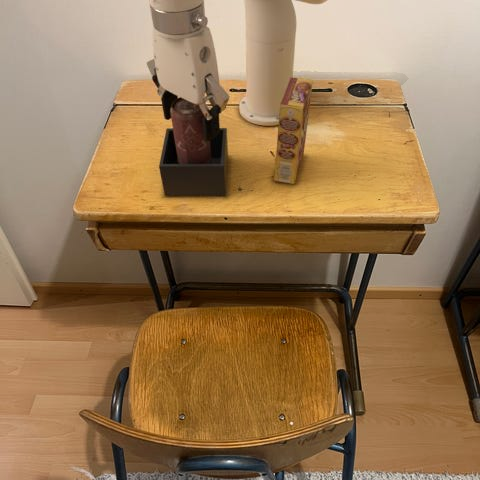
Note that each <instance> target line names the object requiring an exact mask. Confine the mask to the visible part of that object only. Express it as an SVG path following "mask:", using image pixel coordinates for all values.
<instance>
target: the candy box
mask: <svg viewBox="0 0 480 480" xmlns="http://www.w3.org/2000/svg"><path fill="white" fill-rule="evenodd" d="M313 86H314V80H313V79H310V78H303V77H301V78H297V77H293V78H290V80H289V83H288V86H287V89H286V91H285V94H284V96H283V99H282V101H281V103H280V114H279V125H277V126H278V127H277V140H276V141H277V142H276V150H275V153H276V154H275V165H274V166H275V167H274V178H273V181H274V182H280V183H283V184H289V185H295V184H296V180H297V176H298V173H299V170H300V167H301V164H302V161H303V158H304V155H305V154H304V153H305V148H306V147H305V146H306V139H307V132H308V131H307V130H308V123H309V116H310V109H311V101H312V100H311V99H312V92H313Z"/></svg>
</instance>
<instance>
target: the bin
mask: <svg viewBox="0 0 480 480" xmlns="http://www.w3.org/2000/svg"><path fill="white" fill-rule="evenodd" d="M210 149H211V160H212V164H178V157H177V151H176V145H175V138H174V132H173V127H172V128H171V127H169V128H166V129H165V133H164V138H163V145H162V150H161V154H160V159H159V164H158V168H159V174H160V178H161V183H162V188H163V193H164V197H226V196H227V184H228V183H227V182H228V171H229V168H228V167H229V147H228V127H220V133H219V135H217V136H216V137H214V138H213V139H211V140H210Z"/></svg>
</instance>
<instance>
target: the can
mask: <svg viewBox="0 0 480 480" xmlns="http://www.w3.org/2000/svg"><path fill="white" fill-rule="evenodd" d="M170 113H171V119H170V120H171V125H172V128H173V132H174V138H175V145H176V151H177V157H178V164H212V160H211V149H210V141H206V140H205V139H204V130H203V118H204V117H205V116H204V114H203V112H202V110H201V109H200V107H199V105H197V104H194V103H192V102H190V101H187V100H185V99H183V98H181V97H178V99H176V100H175V101H173V103H172V107H171V109H170Z"/></svg>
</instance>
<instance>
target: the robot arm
mask: <svg viewBox="0 0 480 480" xmlns="http://www.w3.org/2000/svg"><path fill="white" fill-rule="evenodd" d="M243 1H244V19H245V22H244V23H245V88H246V89H245V90H246V91H245V93H246V94H245V96H243V97H242V99H241V100H240V102H239V109H238V110H239V114H240V116H241V117H242V118H243V119H245V121H247V122H249V123H252V124H254V125H258V126H266V127H272V126H279V114H280V103H281V101H282V99H283V96H284V94H285V91H286V89H287V86H288V83H289V80H290V78H294V64H295V53H296V36H297V14H296V10H295V5H294V3H293V0H243ZM295 1H297V2H301V3H305V4H309V5H321V4H324V3H326V2H327V1H328V0H295ZM148 2H149V8H150V14H151V21H152V25H151V26H152V27H151V28H152V32H151V33H152V34H151V35H152V36H151V37H152V47H153V48H152V51H153V58H152V59H149V60H148V61H147V62H146V67H147V68H148V70H149V73H150V75H151V79H152V82H153V83H154V86H156V88H157V90H156V92H157V94H158V96H159V97H160V100H161V107H162V112H163V118H164V120H166V121H169V120H172V119H171V113H170V109H171V107H172V103H173V101H175V100H176V99H178V98H180V97H181V98H183V99H185V100H187V101H190V102H192V103H194V104H197V105H199V107H200V109H201V110H202V112H203V114H204V116H205V117H204V118H203V130H204V139H205V140H206V141H210V140H211V139H213V138H214V137H216V136H217V135H219V133H220V128H221V126H220V123H221V122H220V114H222V112H223V111H224V110H226V109H227V105H228V102H229V100H230V94H229V93H228V92H227V91H226V90H225V88H224V87H222V85H221V84H220V76H219V66H218V60H217V55H216V54H217V53H216V48H215V44H214V40H213V35H212V32H211V28H210V27H209V26H208V22H209V19H208V17H207V16H206V8H205V0H148ZM296 78H302V77H301V76H297V77H296ZM205 95H206V96H205ZM206 102H209V104H210V105H211V108H209V106H208V105H207V103H206Z"/></svg>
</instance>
